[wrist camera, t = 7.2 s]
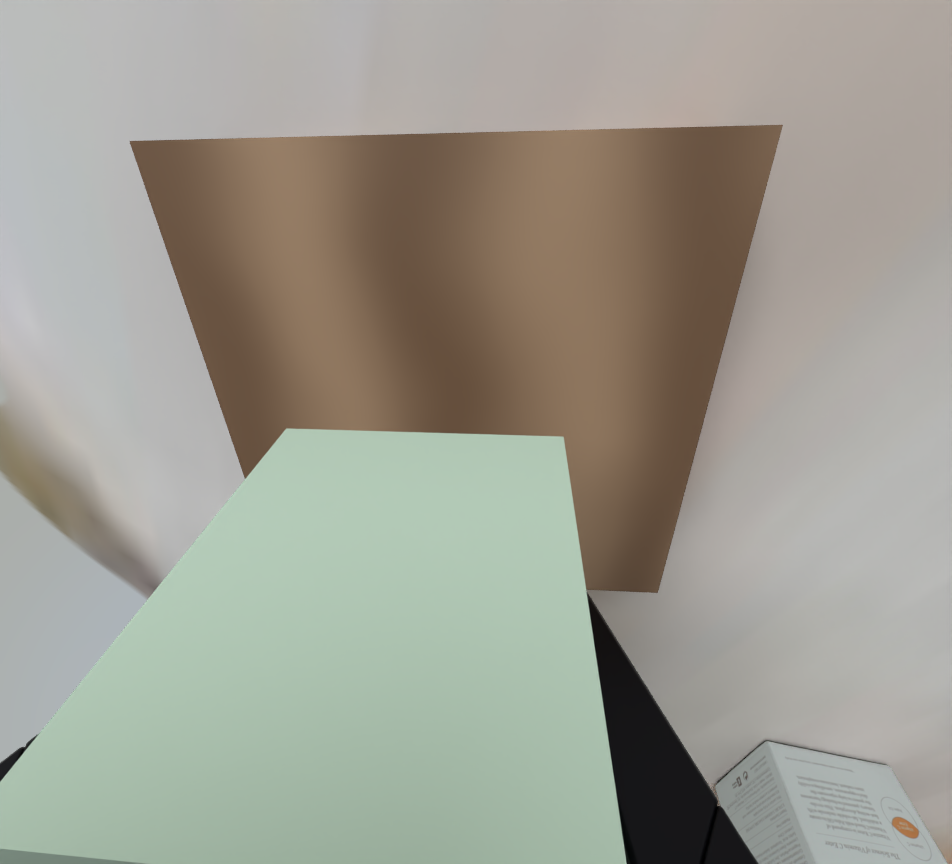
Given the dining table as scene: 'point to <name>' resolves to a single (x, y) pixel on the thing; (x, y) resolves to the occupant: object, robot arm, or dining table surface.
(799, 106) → the dining table surface
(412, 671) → the green cube
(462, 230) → the walnut base
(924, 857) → the small box
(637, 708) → the robot arm
